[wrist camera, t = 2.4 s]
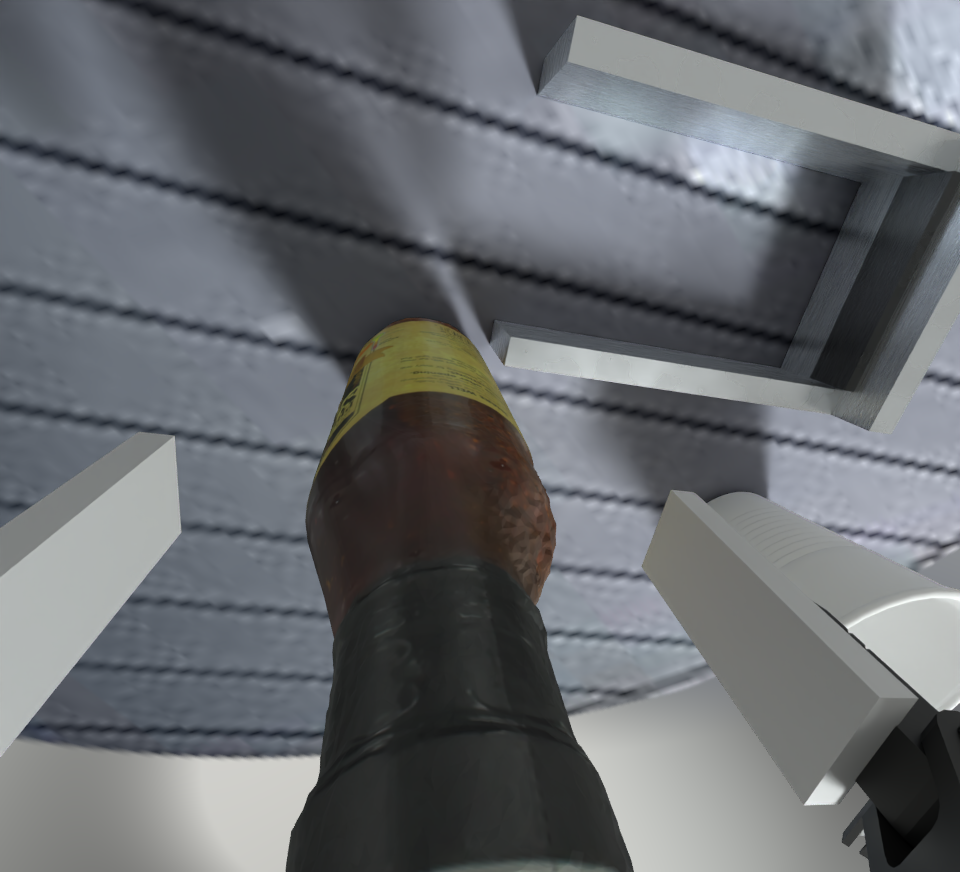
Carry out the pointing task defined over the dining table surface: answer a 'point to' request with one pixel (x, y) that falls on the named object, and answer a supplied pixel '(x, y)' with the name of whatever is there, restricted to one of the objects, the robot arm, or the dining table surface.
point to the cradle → (853, 260)
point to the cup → (861, 593)
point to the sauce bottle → (440, 633)
